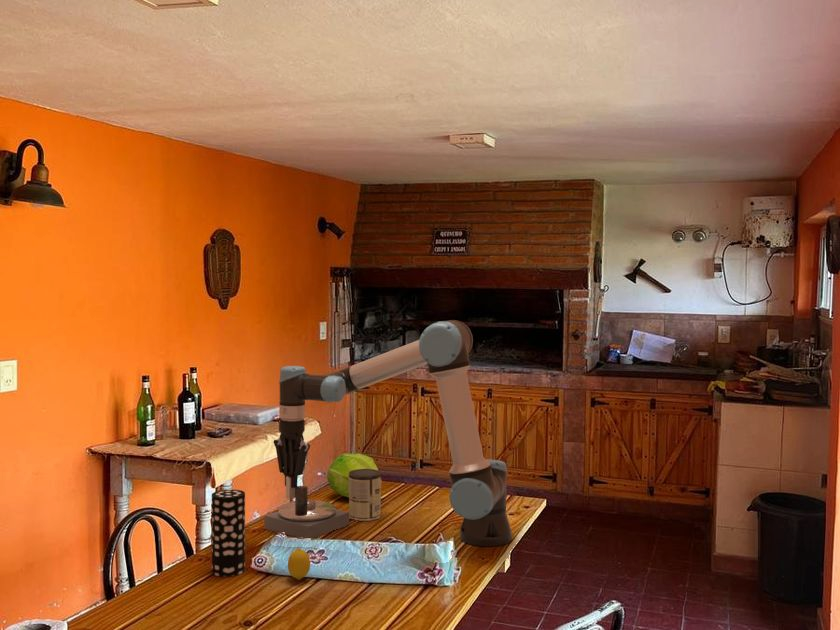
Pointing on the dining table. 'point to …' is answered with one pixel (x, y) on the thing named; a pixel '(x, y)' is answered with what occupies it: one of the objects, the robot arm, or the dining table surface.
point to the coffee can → (364, 494)
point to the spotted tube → (228, 532)
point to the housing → (306, 524)
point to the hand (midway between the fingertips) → (290, 497)
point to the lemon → (298, 564)
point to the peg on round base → (306, 507)
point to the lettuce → (347, 470)
